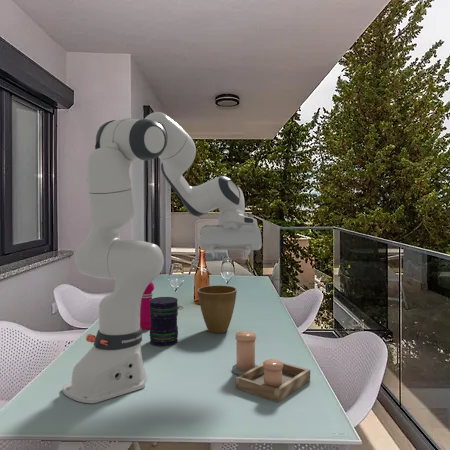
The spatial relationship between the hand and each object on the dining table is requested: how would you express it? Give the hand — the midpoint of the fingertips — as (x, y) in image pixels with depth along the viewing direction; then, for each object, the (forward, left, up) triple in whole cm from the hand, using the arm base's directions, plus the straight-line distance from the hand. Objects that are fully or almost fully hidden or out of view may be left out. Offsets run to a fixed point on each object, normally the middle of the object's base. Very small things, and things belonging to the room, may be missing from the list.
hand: (229, 258), depth 140 cm
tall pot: (-7, -11, -31) cm, 33 cm away
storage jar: (-3, +26, -32) cm, 41 cm away
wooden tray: (-9, -23, -31) cm, 40 cm away
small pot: (-14, -25, -31) cm, 42 cm away
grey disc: (-6, -11, -31) cm, 34 cm away
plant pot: (+19, +20, -32) cm, 42 cm away
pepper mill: (+5, +44, -32) cm, 55 cm away
